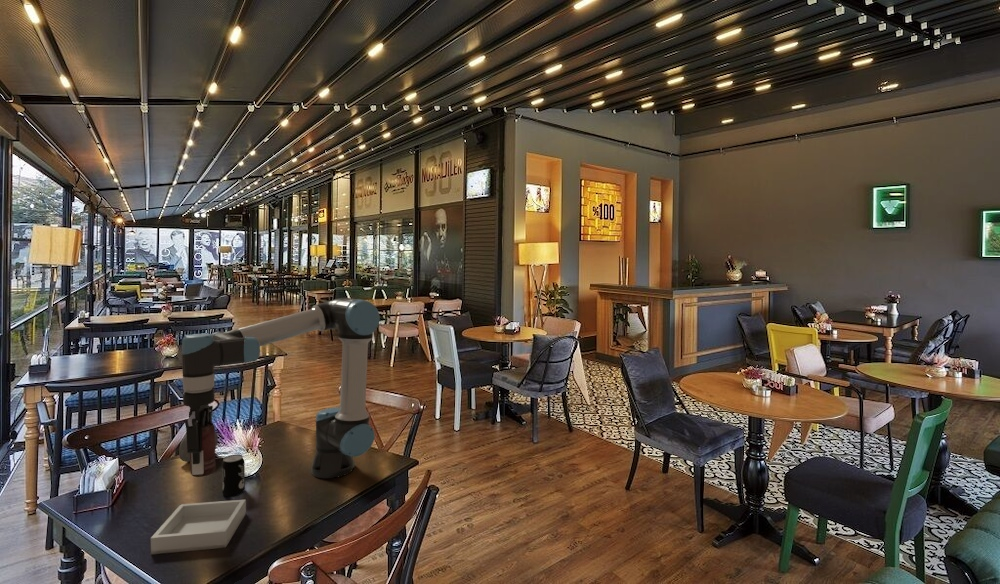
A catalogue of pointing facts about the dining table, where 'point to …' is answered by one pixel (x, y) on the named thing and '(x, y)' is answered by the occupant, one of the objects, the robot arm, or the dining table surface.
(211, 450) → the can
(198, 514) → the bus tub
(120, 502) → the dining table surface
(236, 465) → the beverage can
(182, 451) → the decorative stone
